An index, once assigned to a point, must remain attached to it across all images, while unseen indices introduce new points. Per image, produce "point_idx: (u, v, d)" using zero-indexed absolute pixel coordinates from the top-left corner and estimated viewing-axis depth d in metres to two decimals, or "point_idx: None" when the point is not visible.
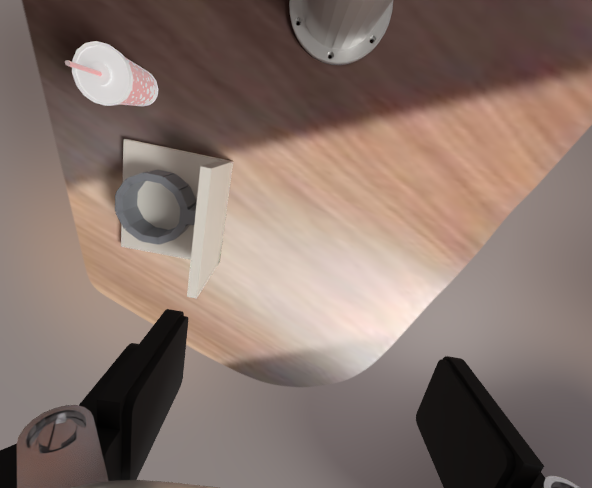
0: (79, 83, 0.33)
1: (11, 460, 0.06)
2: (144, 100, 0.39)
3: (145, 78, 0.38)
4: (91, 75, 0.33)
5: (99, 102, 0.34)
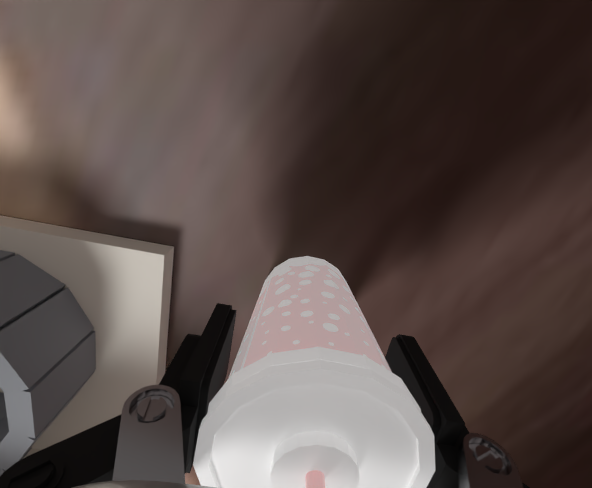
0: (276, 386, 0.07)
1: (115, 430, 0.07)
2: None
3: None
4: (308, 450, 0.07)
5: (202, 446, 0.08)
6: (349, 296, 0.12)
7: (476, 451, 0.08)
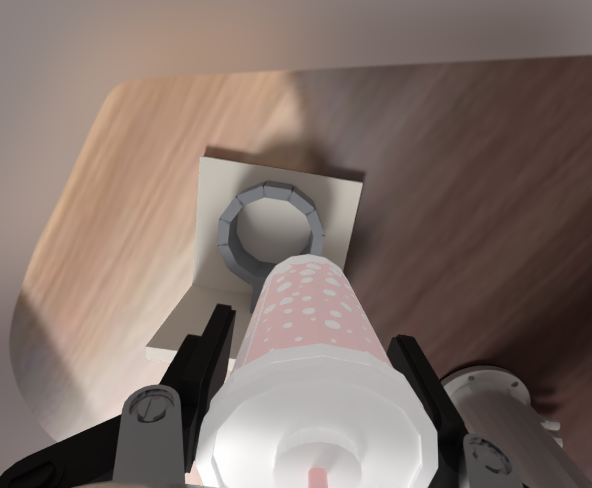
0: (278, 382, 0.07)
1: (115, 430, 0.07)
2: None
3: None
4: (310, 447, 0.07)
5: (204, 443, 0.08)
6: (351, 294, 0.12)
7: (476, 451, 0.08)
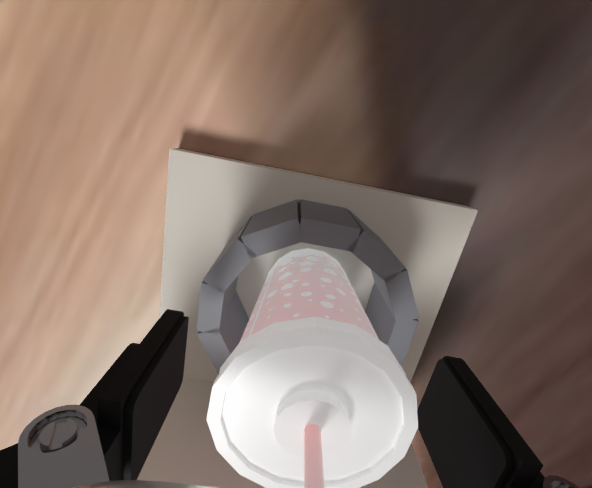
0: (278, 348, 0.08)
1: (13, 460, 0.06)
2: None
3: None
4: (306, 405, 0.08)
5: (214, 403, 0.09)
6: (346, 283, 0.14)
7: None
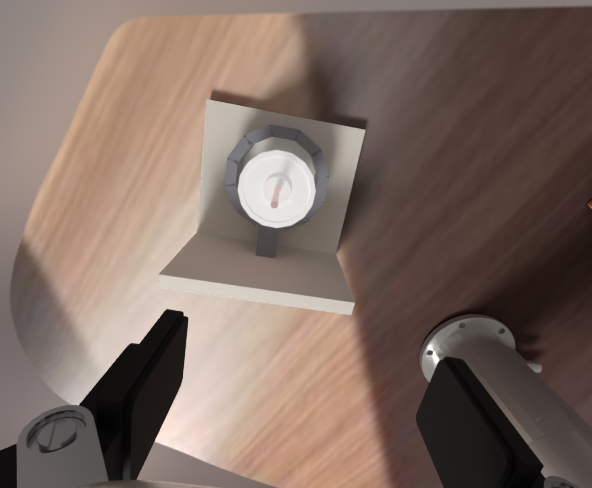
0: (263, 157, 0.23)
1: (11, 460, 0.06)
2: None
3: None
4: (274, 179, 0.24)
5: (240, 182, 0.24)
6: None
7: None
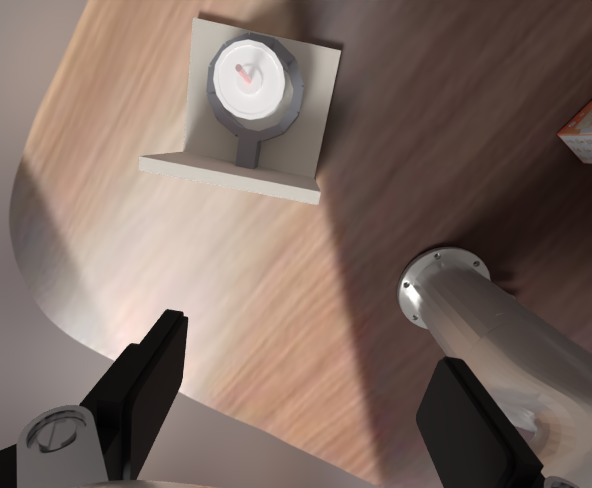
0: (236, 47, 0.25)
1: (11, 460, 0.06)
2: None
3: None
4: (246, 68, 0.26)
5: (216, 71, 0.26)
6: None
7: None
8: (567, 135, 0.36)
